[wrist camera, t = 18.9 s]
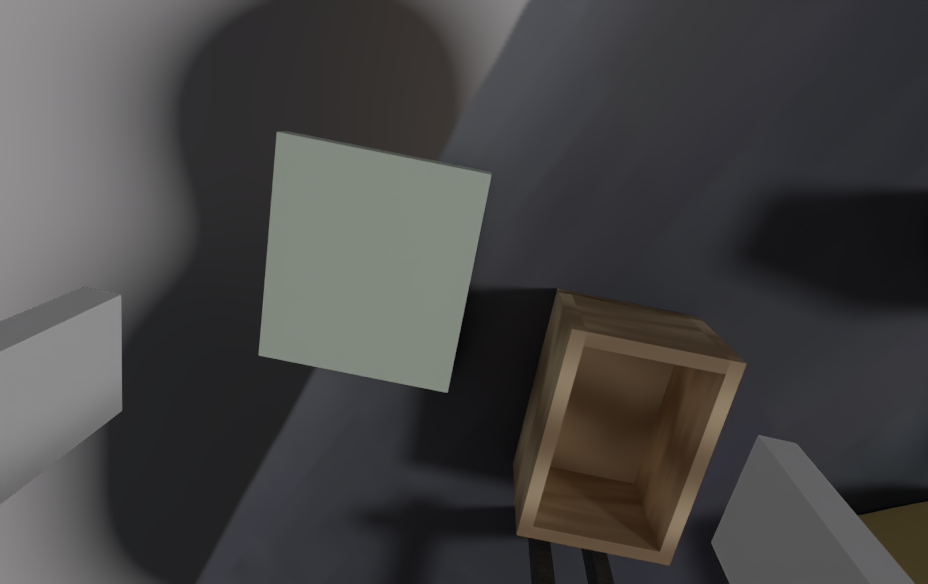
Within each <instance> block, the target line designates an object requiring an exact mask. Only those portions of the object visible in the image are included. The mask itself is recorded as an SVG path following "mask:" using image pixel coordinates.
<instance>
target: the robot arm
mask: <svg viewBox="0 0 928 584" xmlns="http://www.w3.org/2000/svg"><path fill="white" fill-rule="evenodd" d="M121 347H122V345H121V295H120V294H116V293H112V292H107V291H102V290H98V289H93V288H89V287H82V288H80V289H78V290H75V291H73V292H70V293H68V294H66V295H63V296H61V297H58V298H56V299H53V300H51V301H49V302H46V303H44V304H41V305H39V306H37V307H34V308H32V309H29V310H27V311H24V312H22V313H20V314H17V315H15V316H12V317H10V318H8V319H5V320H3V321H0V504H1V503H3V502H4V501H5V500H7V499H8V498H9V497H10V496H12V495H13V494H14V493H16V492H17V491H18V490H20V489H21V488H22V487H23V486H25V485H26V484H27V483H29V482H30V481H31V480H33V479H34V478H35V477H36V476H38V475H39V474H40V473H42V472H43V471H44V470H46V469H47V468H48V467H49V466H50V465H52V464H53V463H55V462H56V461H57V460H58V459H60V458H61V457H62V456H64V455H65V454H66V453H67V452H69V451H70V450H72V449H73V448H74V447H75V446H76V445H78V444H79V443H81V442H82V441H83V440H84V439H86V438H87V437H88V436H90V435H91V434H92V433H93V432H95V431H96V430H97V429H99V428H100V427H101V426H103V425H104V424H105V423H107V422H108V421H109V420H110V419H112V418H113V417H114V416H116V415H117V414H118V413H119V412H121V411H122V349H121ZM711 544H712V546H713V548H714V551H715V553H716V555H717V557H718V559H719V562H720V564H721V566H722V568H723V570H724V573H725V575H726V577H727V579H728V581H729V583H730V584H915V583H914V582H913V581H912V580H911V578H910V577H909V576H908V575H907V574H906V573H905V571H904V570H903V569H902V568H901V567H900V565H899V564H898V563H897V562H896V561H895V559H894V558H893V557H892V556H891V555H890V554H889V552H888V551H887V550H886V549H885V548H884V546H883V545H882V544H881V543H880V542H879V541H878V539H877V538H876V537H875V536H874V535H873V533H872V532H871V531H870V530H869V529H868V528H867V526H866V525H865V524H864V523H863V522H862V520H861V519H860V518H859V517H858V516H857V515H856V513H855V512H854V511H853V510H852V509H851V507H850V506H849V505H848V504H847V503H846V502H845V500H844V499H843V498H842V497H841V496H840V494H839V493H838V492H837V491H836V490H835V489H834V487H833V486H832V485H831V484H830V483H829V481H828V480H827V479H826V478H825V477H824V476H823V474H822V473H821V472H820V471H819V470H818V468H817V467H816V466H815V465H814V464H813V463H812V461H811V460H810V459H809V458H808V457H807V455H806V454H805V453H804V452H803V451H802V450H801V448H800V447H799V446H798V445H797V444H796V443H792V442H788V441H783V440H779V439H774V438H769V437H765V436H760V435H758V437H757V439H756V441H755V444H754V446H753V448H752V451H751V453H750V455H749V457H748V460H747V462H746V464H745V466H744V469H743V471H742V473H741V475H740V478H739V480H738V482H737V485H736V487H735V489H734V491H733V494H732V496H731V498H730V500H729V503H728V505H727V507H726V509H725V512H724V514H723V516H722V519H721V521H720V523H719V525H718V528H717V530H716V532H715V534H714V537H713V539H712V541H711Z"/></svg>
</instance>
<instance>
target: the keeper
mask: <svg viewBox="0 0 928 584" xmlns="http://www.w3.org/2000/svg"><path fill="white" fill-rule="evenodd" d="M528 542H529V555H530V569H531V582H532V584H555V578H554V570H553V562H552V554H551V546H550V542H549V541H544V540H539V539H534V538H529V537H528ZM581 549H582V554H583V559H584V564H585V569H586V575H587V580H588V584H614V581H613V577H612V573H611V569H610V565H609V561H608V557H607V553H604V552H599V551H594V550H589V549H584V548H581Z"/></svg>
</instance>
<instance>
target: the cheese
mask: <svg viewBox="0 0 928 584" xmlns="http://www.w3.org/2000/svg"><path fill="white" fill-rule="evenodd" d="M858 517H859V518H860V519H861V520H862V522H863V523H864V524H865V525H866V526H867V528H868V529H869V530H870V531H871V532H872V533H873V535H874V536H875V537H876V538H877V539H878V541H879V542H880V543H881V544H882V545H883V546H884V548H885V549H886V550H887V551H888V552H889V554H890V555H891V556H892V557H893V558H894V559H895V561H896V562H897V563H898V564H899V565H900V567H901V568H902V569H903V570H904V571H905V573H906V574H907V575H908V576H909V577H910V578H911V580H912V581H913V582H914V583H915V584H928V501H926V502H921V503H915V504H910V505H905V506H900V507H895V508H891V509H886V510H881V511H877V512H872V513H868V514H863V515H858Z"/></svg>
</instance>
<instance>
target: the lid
mask: <svg viewBox="0 0 928 584" xmlns="http://www.w3.org/2000/svg"><path fill="white" fill-rule="evenodd" d="M491 175H492V172H489V171H484V170H479V169H474V168H469V167H464V166H459V165H454V164H449V163H444V162H439V161H433V160H429V159H423V158H419V157H414V156H409V155H403V154H399V153H394V152H389V151H384V150H379V149H373V148H368V147H364V146H359V145H354V144H348V143H343V142H338V141H333V140H328V139H323V138H318V137H313V136H308V135H303V134H298V133H293V132H288V131H286V132H277V136H276V148H275V160H274V173H273V185H272V198H271V210H270V222H269V234H268V246H267V260H266V271H265V283H264V296H263V308H262V321H261V333H260V345H259V356H265V357H270V358H275V359H280V360H285V361H290V362H295V363H300V364H305V365H310V366H315V367H320V368H325V369H330V370H335V371H340V372H345V373H350V374H355V375H360V376H365V377H370V378H375V379H380V380H385V381H390V382H395V383H400V384H405V385H410V386H415V387H420V388H425V389H430V390H435V391H440V392H445V393H448V389H449V384H450V379H451V374H452V369H453V364H454V359H455V354H456V349H457V344H458V339H459V334H460V329H461V324H462V319H463V314H464V309H465V304H466V299H467V294H468V289H469V284H470V279H471V275H472V270H473V265H474V260H475V255H476V250H477V245H478V240H479V235H480V230H481V225H482V220H483V215H484V210H485V205H486V200H487V195H488V190H489V185H490V180H491Z"/></svg>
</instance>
